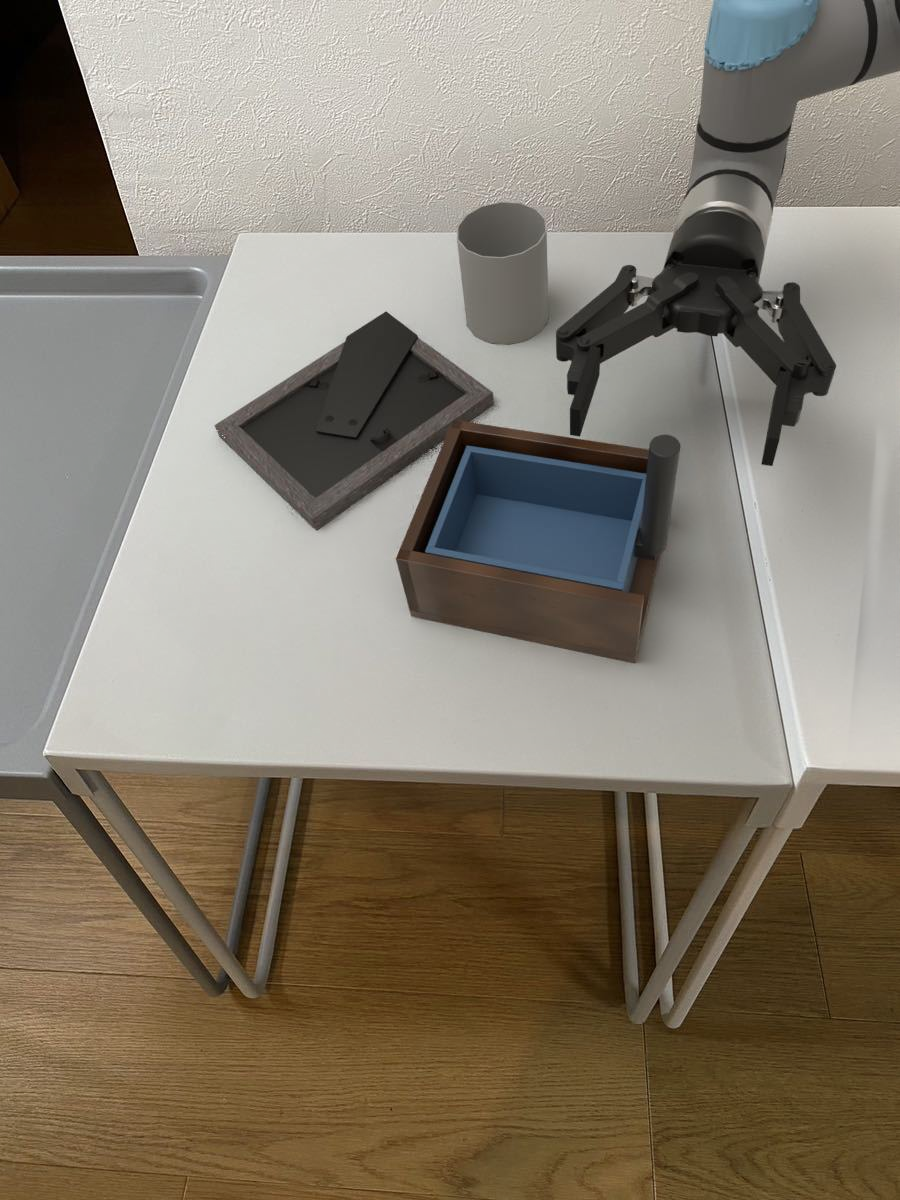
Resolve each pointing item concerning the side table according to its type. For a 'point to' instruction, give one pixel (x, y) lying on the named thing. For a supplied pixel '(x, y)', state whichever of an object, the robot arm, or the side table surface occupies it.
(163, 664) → the side table surface
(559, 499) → the blue drawer insert
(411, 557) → the walnut drawer box
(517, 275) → the cup
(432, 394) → the picture frame
